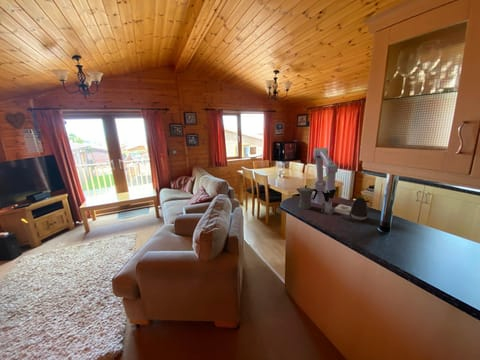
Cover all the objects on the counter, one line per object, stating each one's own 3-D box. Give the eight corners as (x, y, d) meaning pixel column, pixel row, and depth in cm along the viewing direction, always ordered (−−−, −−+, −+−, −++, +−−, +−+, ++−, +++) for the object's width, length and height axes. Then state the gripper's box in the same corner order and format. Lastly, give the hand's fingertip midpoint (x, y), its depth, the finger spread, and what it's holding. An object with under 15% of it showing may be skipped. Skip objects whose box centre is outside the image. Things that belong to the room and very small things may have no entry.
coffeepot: (295, 209, 154) (295, 186, 150) (296, 204, 163) (297, 183, 158) (316, 211, 149) (318, 188, 144) (316, 206, 158) (318, 184, 153)
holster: (320, 212, 147) (320, 209, 146) (324, 209, 151) (324, 206, 150) (331, 215, 141) (331, 212, 141) (335, 212, 145) (335, 209, 144)
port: (334, 211, 146) (334, 207, 146) (339, 207, 153) (340, 203, 152) (349, 215, 139) (349, 211, 138) (354, 211, 146) (354, 207, 145)
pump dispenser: (363, 223, 128) (366, 201, 124) (346, 218, 136) (349, 197, 132) (370, 218, 134) (373, 197, 130) (354, 213, 142) (356, 193, 138)
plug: (324, 211, 146) (325, 202, 144) (326, 210, 148) (327, 200, 146) (329, 213, 143) (329, 203, 141) (331, 211, 146) (332, 201, 144)
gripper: (331, 184, 132) (330, 204, 136) (340, 180, 142) (338, 198, 145) (321, 183, 137) (320, 201, 141) (330, 178, 147) (329, 196, 150)
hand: (328, 199), depth 143 cm, fingers open, 7 cm apart
